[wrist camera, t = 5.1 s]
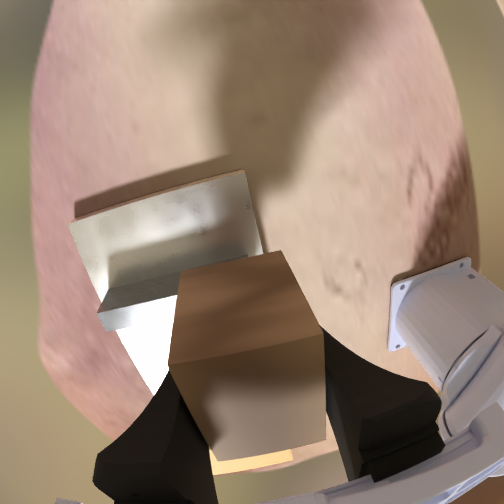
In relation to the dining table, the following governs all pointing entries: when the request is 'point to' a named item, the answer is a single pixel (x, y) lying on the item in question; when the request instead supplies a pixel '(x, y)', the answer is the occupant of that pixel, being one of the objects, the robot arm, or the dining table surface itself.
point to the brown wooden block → (249, 357)
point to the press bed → (161, 257)
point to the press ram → (248, 462)
